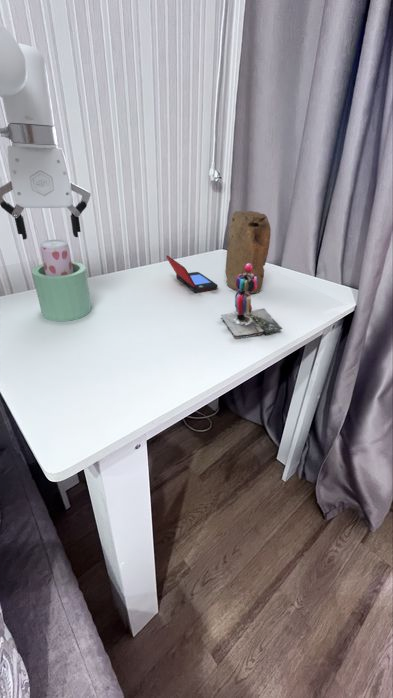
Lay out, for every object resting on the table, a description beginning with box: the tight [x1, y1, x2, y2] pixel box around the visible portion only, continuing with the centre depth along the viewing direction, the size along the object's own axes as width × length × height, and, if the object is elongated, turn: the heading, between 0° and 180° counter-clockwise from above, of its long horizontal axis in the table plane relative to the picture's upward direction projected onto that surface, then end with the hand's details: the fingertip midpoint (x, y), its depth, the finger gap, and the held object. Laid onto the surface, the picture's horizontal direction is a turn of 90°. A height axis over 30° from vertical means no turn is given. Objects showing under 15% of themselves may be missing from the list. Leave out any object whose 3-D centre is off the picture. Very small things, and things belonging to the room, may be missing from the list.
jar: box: [31, 261, 92, 322], centre depth 74 cm, size 11×11×10 cm
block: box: [224, 210, 272, 294], centre depth 88 cm, size 11×8×20 cm
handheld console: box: [165, 255, 219, 293], centre depth 92 cm, size 12×11×7 cm
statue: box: [220, 263, 283, 340], centre depth 70 cm, size 11×9×15 cm
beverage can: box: [39, 239, 73, 276], centre depth 73 cm, size 6×6×15 cm
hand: (51, 236), depth 68 cm, fingers open, 9 cm apart
